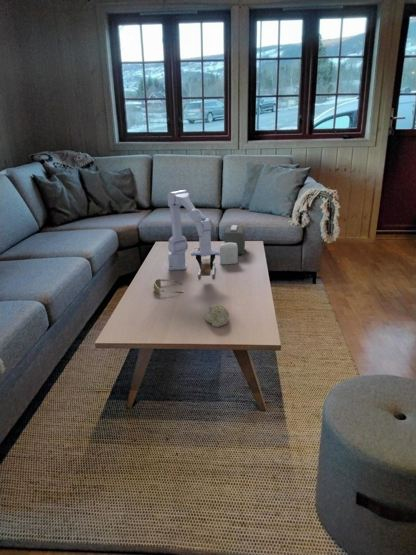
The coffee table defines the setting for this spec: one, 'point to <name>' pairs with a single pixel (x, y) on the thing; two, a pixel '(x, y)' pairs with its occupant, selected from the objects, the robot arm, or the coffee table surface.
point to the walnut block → (205, 267)
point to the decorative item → (217, 315)
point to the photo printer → (228, 253)
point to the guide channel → (212, 272)
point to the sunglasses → (158, 283)
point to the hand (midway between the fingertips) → (206, 268)
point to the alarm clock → (235, 237)
